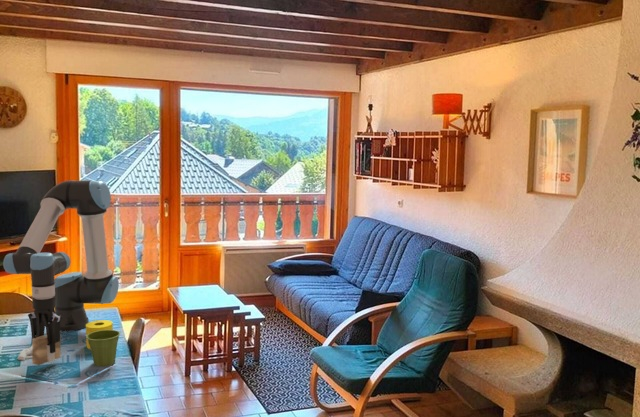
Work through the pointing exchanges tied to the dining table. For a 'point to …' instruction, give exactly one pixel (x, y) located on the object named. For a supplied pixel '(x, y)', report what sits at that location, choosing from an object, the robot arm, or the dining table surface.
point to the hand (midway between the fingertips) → (47, 360)
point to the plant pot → (103, 346)
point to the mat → (36, 378)
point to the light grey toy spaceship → (25, 354)
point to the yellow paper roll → (97, 327)
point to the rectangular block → (43, 350)
